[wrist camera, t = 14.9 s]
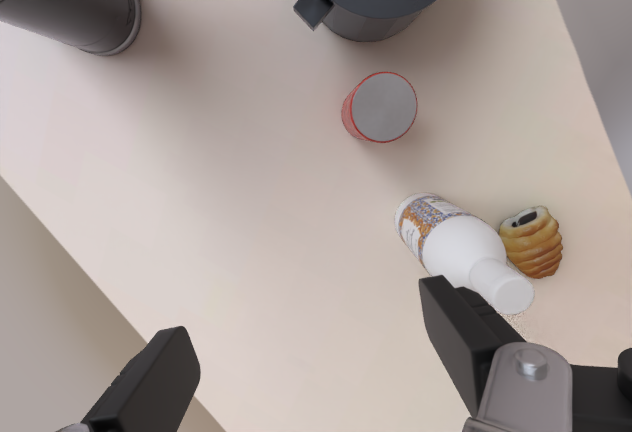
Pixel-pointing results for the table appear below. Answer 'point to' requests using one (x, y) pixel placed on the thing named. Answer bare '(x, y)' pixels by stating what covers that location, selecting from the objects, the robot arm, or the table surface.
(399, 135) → the tomato can
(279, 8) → the table surface
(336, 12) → the pot
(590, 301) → the table surface
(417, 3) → the pot lid
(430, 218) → the bath foam
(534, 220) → the pastry
